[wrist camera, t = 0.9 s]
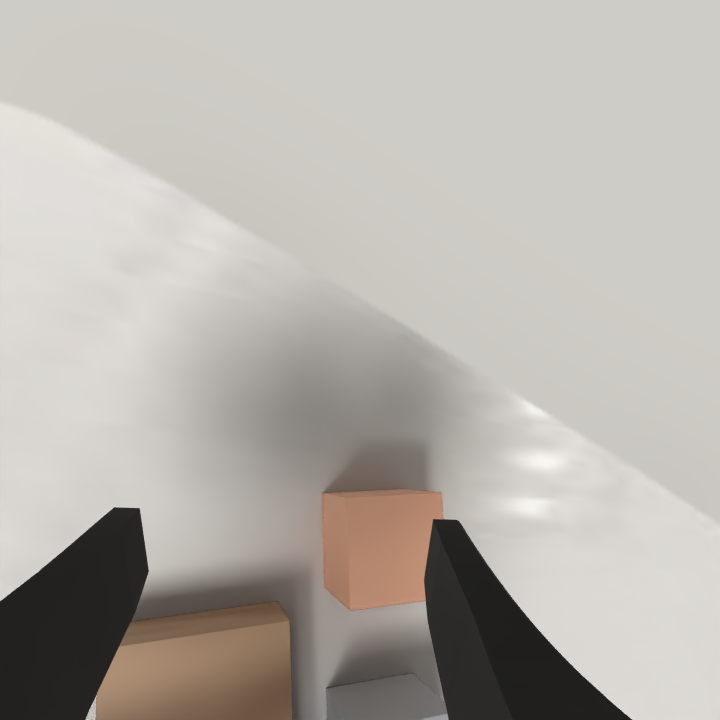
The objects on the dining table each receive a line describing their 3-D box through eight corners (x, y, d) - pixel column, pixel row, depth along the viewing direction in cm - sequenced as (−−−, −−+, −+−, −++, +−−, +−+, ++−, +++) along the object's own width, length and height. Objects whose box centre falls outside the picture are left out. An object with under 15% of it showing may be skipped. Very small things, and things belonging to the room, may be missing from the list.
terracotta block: (407, 577, 30) (448, 598, 25) (323, 587, 28) (350, 610, 24) (403, 488, 31) (441, 492, 26) (321, 493, 29) (347, 498, 25)
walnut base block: (280, 768, 26) (294, 818, 22) (105, 810, 24) (90, 874, 20) (276, 600, 28) (289, 620, 24) (111, 622, 25) (98, 649, 21)
